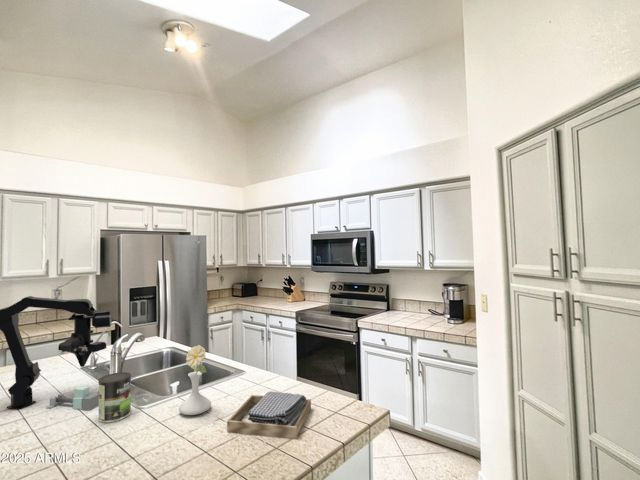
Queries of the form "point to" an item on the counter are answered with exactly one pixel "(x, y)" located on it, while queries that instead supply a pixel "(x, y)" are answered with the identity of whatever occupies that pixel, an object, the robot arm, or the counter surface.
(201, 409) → the flower in vase
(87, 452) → the counter surface
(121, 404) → the coffee can
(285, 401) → the towel
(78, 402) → the mint stepped block
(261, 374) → the counter surface
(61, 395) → the grey angular piece
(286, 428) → the linen tray frame
